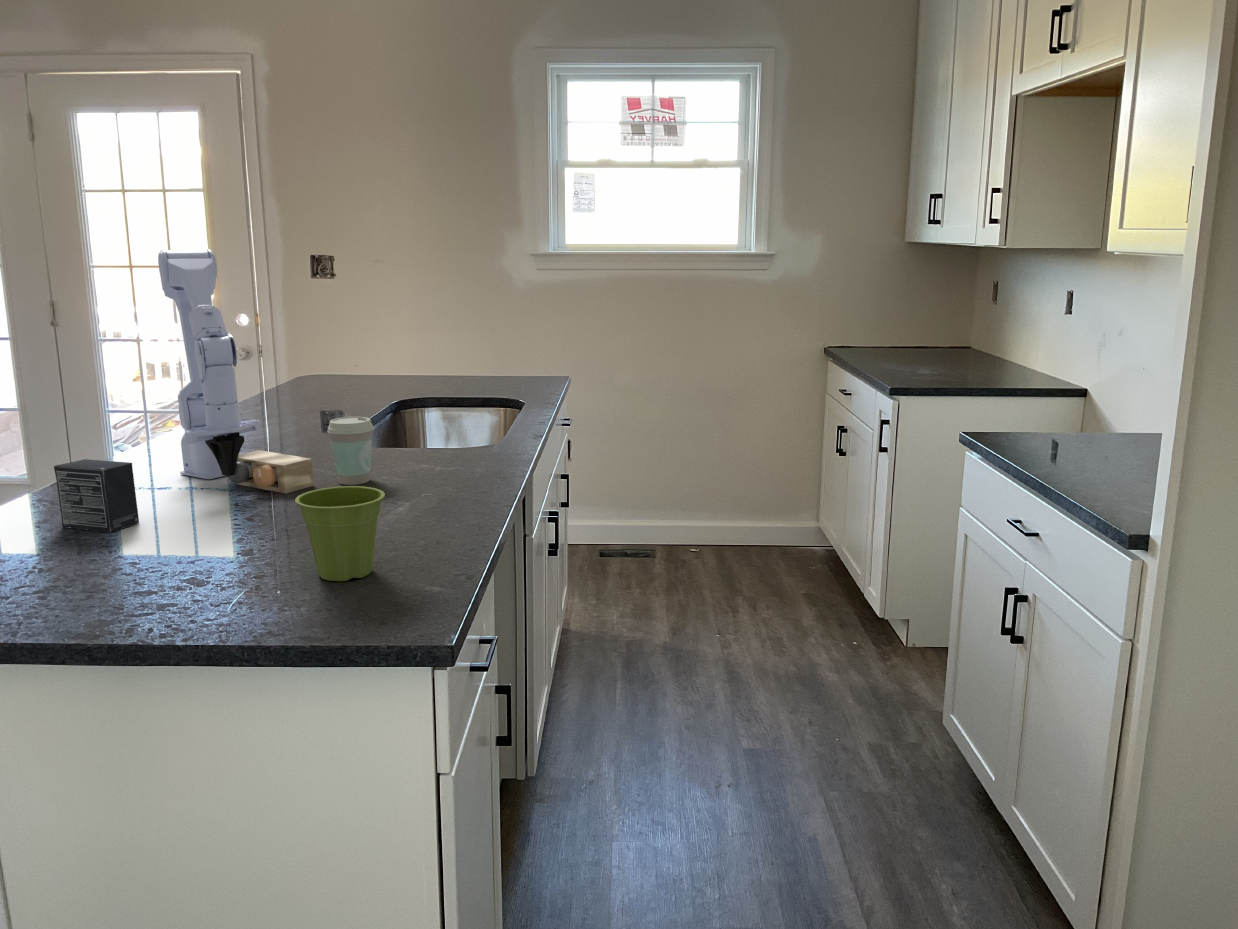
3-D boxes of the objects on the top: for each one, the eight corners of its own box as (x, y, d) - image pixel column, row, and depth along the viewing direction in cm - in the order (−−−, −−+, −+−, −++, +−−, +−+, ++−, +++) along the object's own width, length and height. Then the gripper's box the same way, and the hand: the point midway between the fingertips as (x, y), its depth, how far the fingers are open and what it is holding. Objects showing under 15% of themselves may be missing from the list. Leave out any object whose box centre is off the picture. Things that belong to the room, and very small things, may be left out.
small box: (142, 522, 161) (134, 461, 158) (110, 534, 155) (102, 470, 152) (93, 517, 164) (85, 457, 162) (60, 528, 158) (51, 465, 156)
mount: (233, 483, 186) (230, 456, 185) (261, 476, 191) (259, 450, 190) (285, 493, 178) (283, 465, 177) (313, 485, 183) (311, 458, 182)
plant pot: (389, 584, 131) (383, 504, 128) (297, 591, 128) (290, 510, 126) (390, 557, 142) (385, 482, 140) (306, 563, 140) (299, 487, 137)
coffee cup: (365, 487, 182) (360, 424, 179) (323, 485, 184) (318, 423, 181) (384, 476, 190) (380, 416, 187) (344, 475, 192) (339, 415, 189)
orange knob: (267, 489, 177) (265, 468, 176) (253, 486, 179) (251, 465, 178) (298, 481, 183) (296, 460, 182) (284, 479, 185) (282, 458, 184)
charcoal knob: (241, 485, 180) (239, 464, 179) (227, 482, 182) (225, 461, 182) (272, 477, 186) (270, 457, 185) (258, 474, 188) (256, 454, 187)
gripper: (199, 410, 169) (207, 485, 172) (268, 398, 181) (274, 469, 184) (174, 407, 173) (183, 480, 176) (243, 395, 185) (250, 465, 188)
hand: (228, 474), depth 180 cm, fingers closed
